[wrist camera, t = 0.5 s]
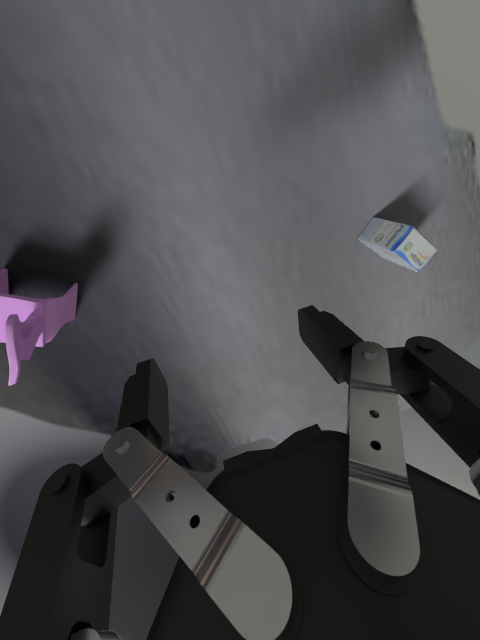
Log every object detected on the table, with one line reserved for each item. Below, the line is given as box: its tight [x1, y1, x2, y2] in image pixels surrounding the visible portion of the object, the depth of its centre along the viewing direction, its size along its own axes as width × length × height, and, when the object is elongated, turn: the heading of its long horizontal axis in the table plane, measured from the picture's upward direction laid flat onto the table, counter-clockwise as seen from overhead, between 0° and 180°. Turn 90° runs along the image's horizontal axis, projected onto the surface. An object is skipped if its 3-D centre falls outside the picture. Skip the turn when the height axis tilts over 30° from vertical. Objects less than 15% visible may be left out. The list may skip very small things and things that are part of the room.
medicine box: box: [358, 217, 437, 272], centre depth 41 cm, size 8×4×9 cm, turn 61°
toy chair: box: [0, 268, 78, 386], centre depth 28 cm, size 8×9×15 cm
